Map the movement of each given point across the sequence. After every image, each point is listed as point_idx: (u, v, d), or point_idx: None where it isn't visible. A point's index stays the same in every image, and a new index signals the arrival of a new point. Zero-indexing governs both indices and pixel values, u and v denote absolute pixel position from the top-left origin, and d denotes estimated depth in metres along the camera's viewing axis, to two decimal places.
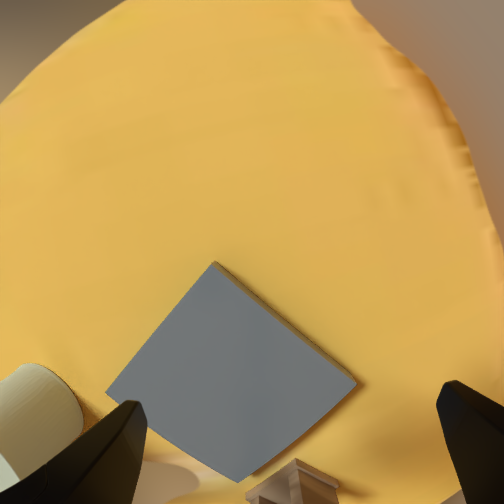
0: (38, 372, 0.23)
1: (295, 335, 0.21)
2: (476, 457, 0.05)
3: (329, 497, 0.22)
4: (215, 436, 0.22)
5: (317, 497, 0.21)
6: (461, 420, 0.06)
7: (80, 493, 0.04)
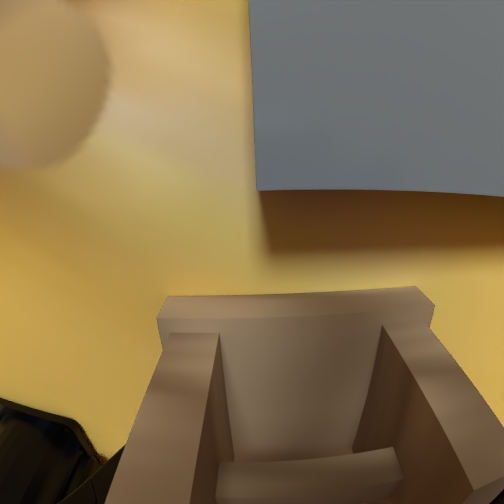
0: None
1: None
2: None
3: None
4: None
5: None
6: None
7: None
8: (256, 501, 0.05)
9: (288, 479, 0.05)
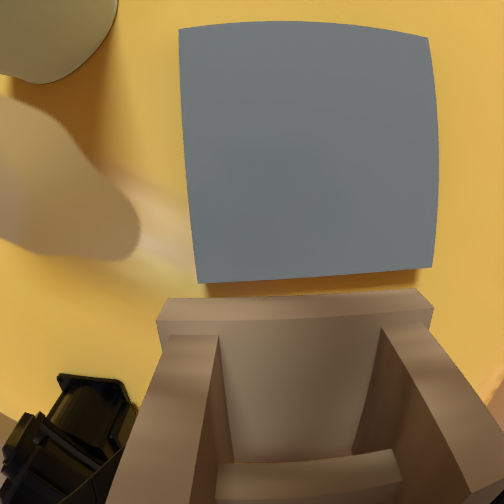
0: None
1: (437, 159, 0.15)
2: None
3: None
4: (252, 186, 0.16)
5: None
6: None
7: None
8: (255, 503, 0.05)
9: (287, 481, 0.05)
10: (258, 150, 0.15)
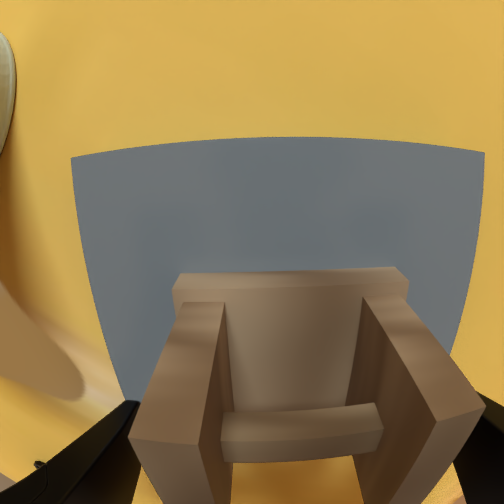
0: None
1: (452, 339, 0.11)
2: (476, 457, 0.05)
3: None
4: None
5: None
6: None
7: (80, 493, 0.04)
8: (255, 445, 0.07)
9: (283, 426, 0.07)
10: None
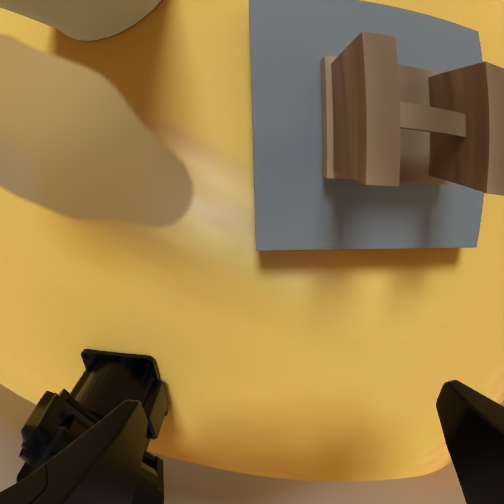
0: None
1: None
2: (476, 457, 0.05)
3: None
4: (320, 153, 0.15)
5: None
6: (461, 420, 0.06)
7: (80, 493, 0.04)
8: (401, 105, 0.10)
9: None
10: None
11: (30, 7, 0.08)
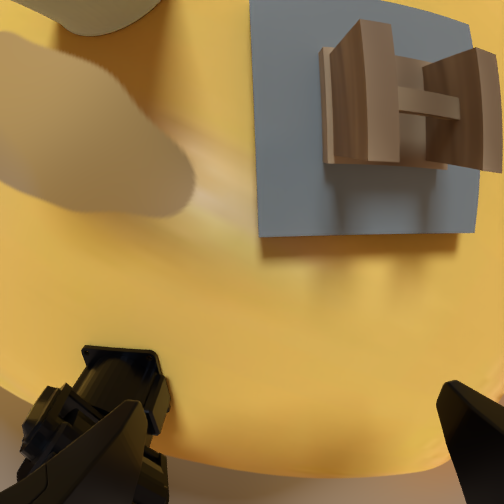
0: None
1: None
2: (476, 457, 0.05)
3: None
4: (320, 140, 0.16)
5: None
6: (461, 420, 0.06)
7: (80, 493, 0.04)
8: (398, 89, 0.10)
9: None
10: None
11: None
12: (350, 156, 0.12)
